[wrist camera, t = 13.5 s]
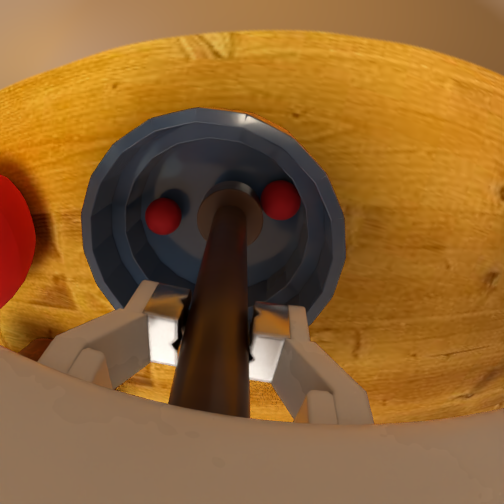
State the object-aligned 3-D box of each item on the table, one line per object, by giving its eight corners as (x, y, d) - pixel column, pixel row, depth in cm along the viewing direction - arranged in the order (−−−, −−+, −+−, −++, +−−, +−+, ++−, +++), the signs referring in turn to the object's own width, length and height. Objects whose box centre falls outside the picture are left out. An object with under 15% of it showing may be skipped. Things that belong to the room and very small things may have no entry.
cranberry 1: (187, 196, 20) (177, 207, 18) (184, 229, 21) (174, 244, 19) (153, 191, 20) (139, 201, 18) (151, 223, 21) (139, 237, 19)
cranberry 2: (275, 192, 20) (300, 217, 20) (248, 208, 19) (275, 234, 18) (285, 166, 18) (314, 192, 18) (257, 181, 17) (287, 209, 16)
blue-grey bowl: (348, 132, 18) (378, 142, 13) (299, 315, 24) (304, 370, 19) (130, 101, 18) (82, 102, 12) (125, 284, 24) (94, 329, 19)
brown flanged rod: (267, 187, 18) (337, 470, 4) (254, 242, 19) (272, 524, 5) (206, 175, 18) (84, 438, 3) (197, 231, 19) (117, 503, 5)
